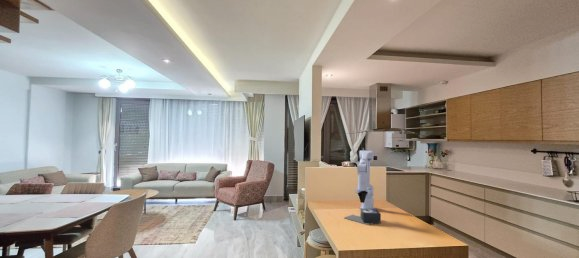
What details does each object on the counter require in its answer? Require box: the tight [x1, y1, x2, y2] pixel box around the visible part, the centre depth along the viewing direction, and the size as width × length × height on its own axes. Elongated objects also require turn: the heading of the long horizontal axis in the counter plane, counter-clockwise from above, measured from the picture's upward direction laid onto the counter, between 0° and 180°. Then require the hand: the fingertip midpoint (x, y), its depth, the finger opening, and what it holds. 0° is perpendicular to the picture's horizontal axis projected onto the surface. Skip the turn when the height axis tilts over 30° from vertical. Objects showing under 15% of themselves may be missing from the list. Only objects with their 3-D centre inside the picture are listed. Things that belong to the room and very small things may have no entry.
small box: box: [360, 208, 382, 224], centre depth 161 cm, size 11×6×10 cm
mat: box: [343, 214, 374, 226], centre depth 163 cm, size 10×18×1 cm, turn 43°
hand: (362, 202), depth 168 cm, fingers closed
